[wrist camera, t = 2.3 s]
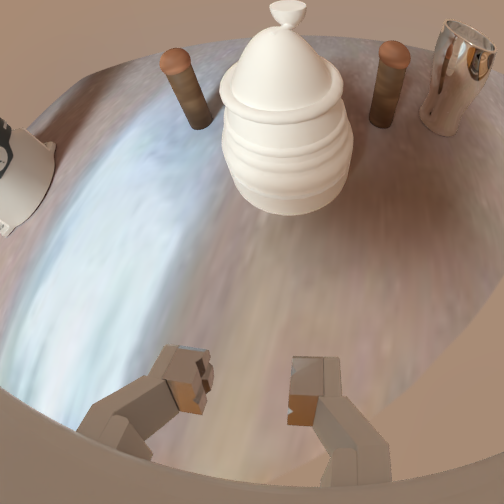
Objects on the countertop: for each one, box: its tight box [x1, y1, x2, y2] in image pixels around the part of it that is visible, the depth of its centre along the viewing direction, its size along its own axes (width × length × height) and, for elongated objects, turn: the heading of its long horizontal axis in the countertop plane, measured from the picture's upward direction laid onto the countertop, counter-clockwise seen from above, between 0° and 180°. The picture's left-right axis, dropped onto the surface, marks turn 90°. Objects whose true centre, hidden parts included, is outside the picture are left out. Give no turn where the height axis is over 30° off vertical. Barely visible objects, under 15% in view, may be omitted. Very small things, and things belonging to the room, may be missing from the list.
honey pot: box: [219, 0, 354, 216], centre depth 22 cm, size 13×13×18 cm
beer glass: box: [419, 19, 497, 137], centre depth 23 cm, size 7×7×15 cm
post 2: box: [369, 41, 411, 128], centre depth 26 cm, size 3×3×12 cm
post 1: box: [160, 48, 212, 130], centre depth 30 cm, size 3×3×12 cm
